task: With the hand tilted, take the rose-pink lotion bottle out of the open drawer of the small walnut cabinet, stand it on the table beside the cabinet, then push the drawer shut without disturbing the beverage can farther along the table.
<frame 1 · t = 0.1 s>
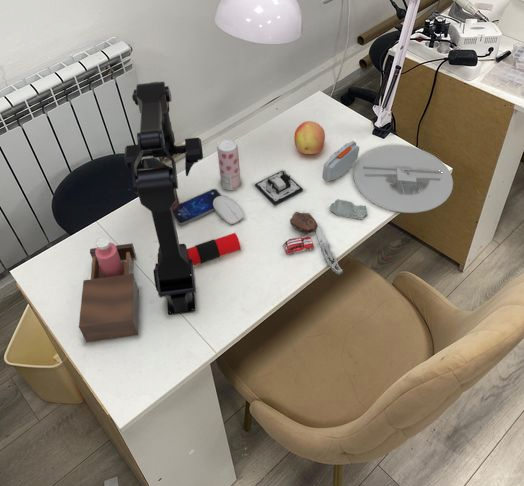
hand: (168, 177, 142), 15 cm above the table, tool pointing down, fingers open, 9 cm apart
stone tool: (351, 201, 152), point 1 cm above the table
beverage can: (231, 184, 161), on the table
light switch: (268, 173, 160), point 2 cm above the table
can: (169, 209, 154), on the table, touching smartphone
stone: (298, 227, 149), on the table
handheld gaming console: (340, 172, 163), on the table
drawer: (112, 268, 136), point 3 cm above the table, slide at 9.0 cm, touching lotion bottle
smartphone: (198, 208, 154), on the table, touching computer mouse, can
cabinet: (113, 315, 130), on the table
knife: (332, 246, 142), point 1 cm above the table
plate: (402, 178, 160), on the table
computer mouse: (228, 212, 153), on the table, touching smartphone
apple: (306, 150, 164), point 4 cm above the table
toy car: (297, 247, 143), on the table
lotion bottle: (113, 271, 137), point 2 cm above the table, touching drawer
dynamite stick: (238, 240, 142), point 2 cm above the table
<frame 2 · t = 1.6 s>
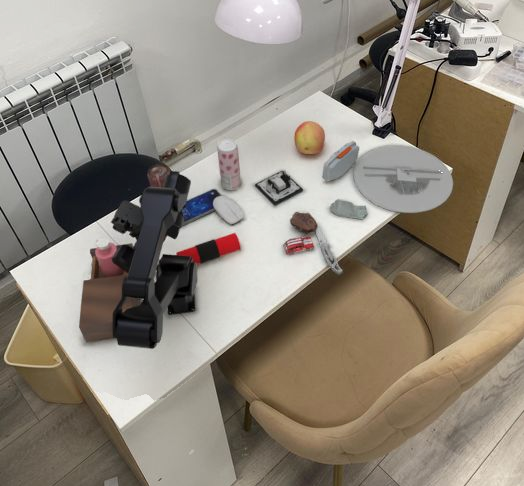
hand: (124, 245, 128), 13 cm above the table, tool tilted 45°, fingers open, 9 cm apart
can: (169, 209, 154), on the table, touching smartphone
everything else where it was.
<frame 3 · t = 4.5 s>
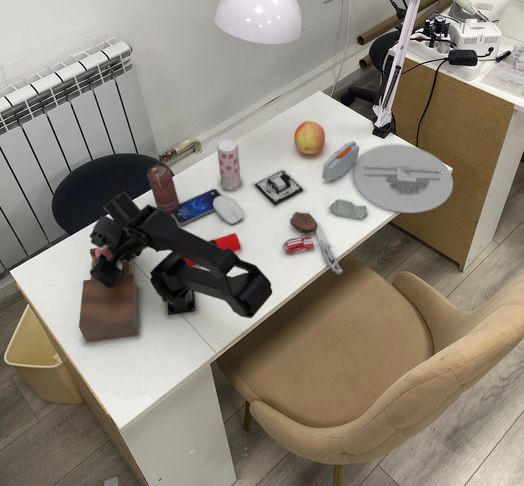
hand: (104, 258, 134), 7 cm above the table, tool tilted 45°, fingers closed on lotion bottle, 5 cm apart
lotion bottle: (113, 272, 137), point 2 cm above the table, touching drawer, gripper
everything else where it was.
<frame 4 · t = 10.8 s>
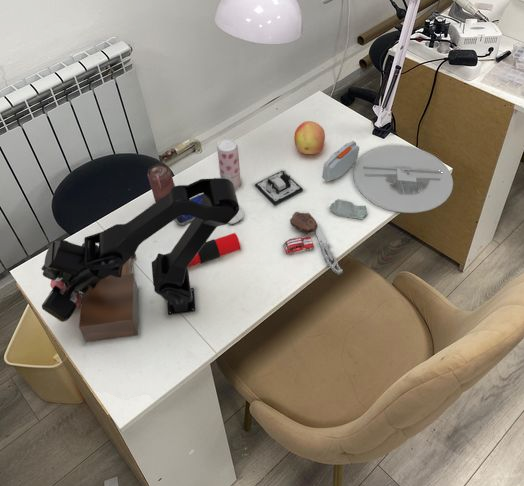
hand: (61, 289, 130), 5 cm above the table, tool tilted 45°, fingers closed on lotion bottle, 5 cm apart
drawer: (112, 268, 136), point 3 cm above the table, slide at 9.0 cm
lotion bottle: (71, 302, 133), point 1 cm above the table, touching gripper
everything else where it was.
when the fingers open (6 cm above the table, at t = 18.5 s): lotion bottle drops 1 cm, on the table.
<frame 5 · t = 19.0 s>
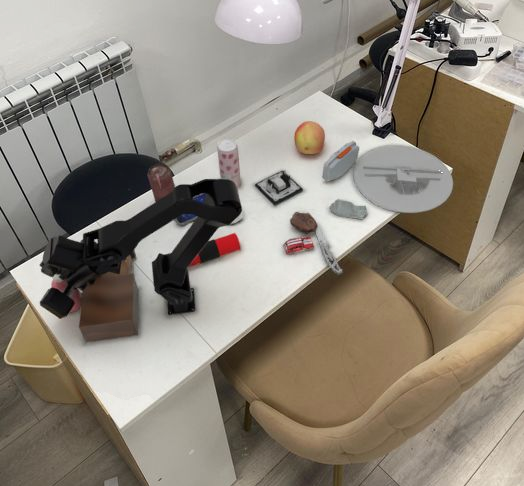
hand: (59, 285, 129), 7 cm above the table, tool tilted 45°, fingers open, 9 cm apart
lotion bottle: (72, 303, 133), on the table
everything else where it was.
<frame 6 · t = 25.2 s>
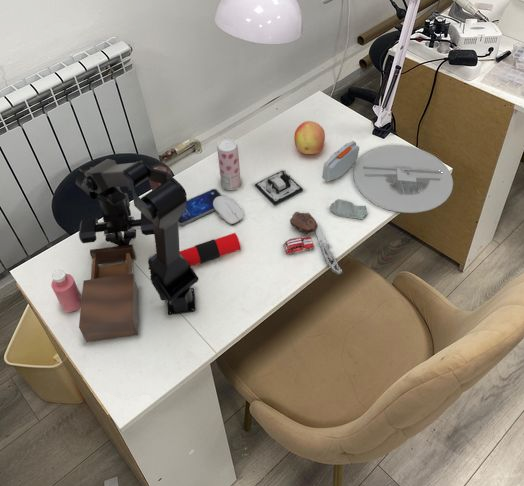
hand: (126, 248, 141), 3 cm above the table, tool pointing down, fingers closed
drawer: (112, 269, 136), point 3 cm above the table, slide at 8.7 cm, touching gripper
everything else where it was.
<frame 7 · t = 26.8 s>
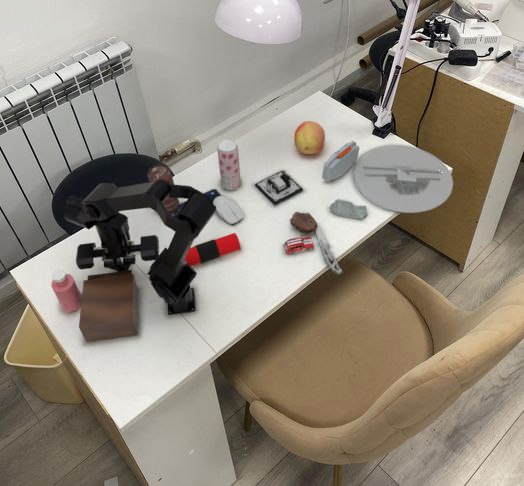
hand: (125, 273, 136), 2 cm above the table, tool pointing down, fingers closed, pressing on drawer
drawer: (111, 296, 130), point 3 cm above the table, slide at 0.8 cm, touching gripper
everything else where it was.
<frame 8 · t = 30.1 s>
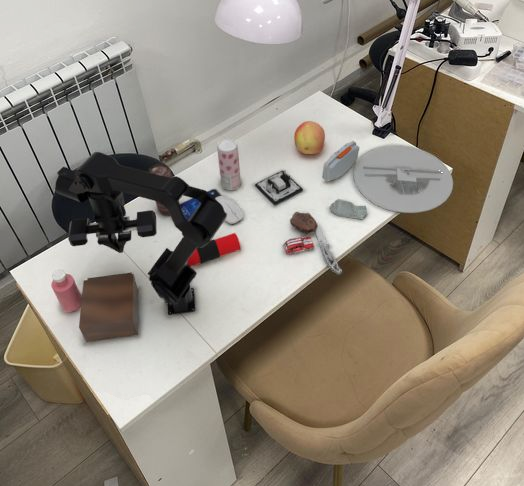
hand: (121, 251, 129), 12 cm above the table, tool pointing down, fingers closed
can: (169, 209, 154), on the table
drawer: (110, 298, 130), point 3 cm above the table, slide at 0.0 cm, touching cabinet
smartphone: (198, 208, 154), on the table, touching computer mouse
everything else where it was.
at the end: lotion bottle 0.0 cm from the target spot, on the table; drawer slide at 0.0 cm; beverage can moved 0.2 cm from its start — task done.
